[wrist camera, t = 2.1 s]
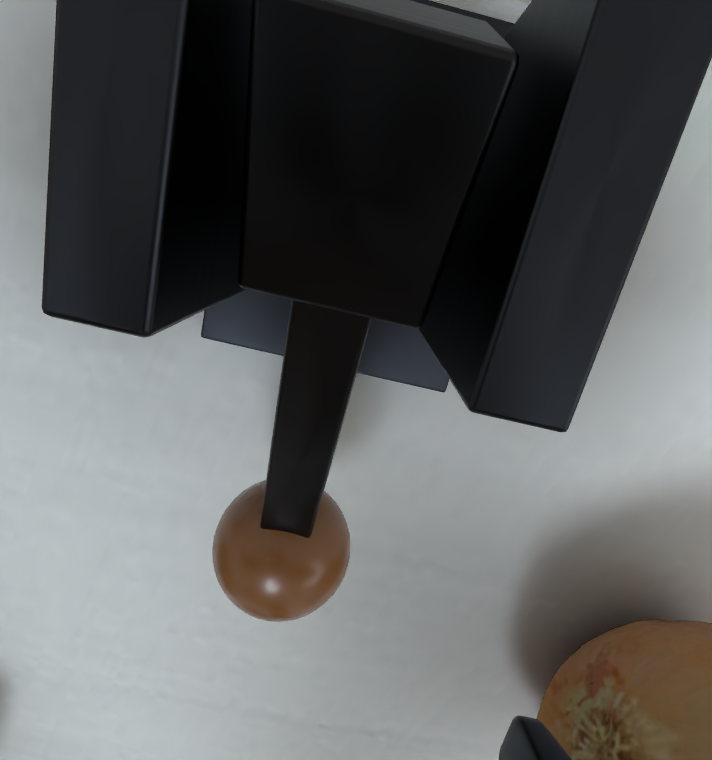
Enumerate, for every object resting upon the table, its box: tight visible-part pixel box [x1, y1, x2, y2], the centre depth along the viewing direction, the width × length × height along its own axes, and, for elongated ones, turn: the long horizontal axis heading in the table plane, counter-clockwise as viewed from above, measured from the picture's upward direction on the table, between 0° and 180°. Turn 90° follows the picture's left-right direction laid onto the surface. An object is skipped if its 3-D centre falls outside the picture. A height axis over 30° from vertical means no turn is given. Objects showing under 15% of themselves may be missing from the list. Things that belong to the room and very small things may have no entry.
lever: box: [213, 0, 519, 622], centre depth 9 cm, size 12×3×3 cm, turn 167°
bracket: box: [42, 0, 712, 432], centre depth 9 cm, size 9×7×10 cm
